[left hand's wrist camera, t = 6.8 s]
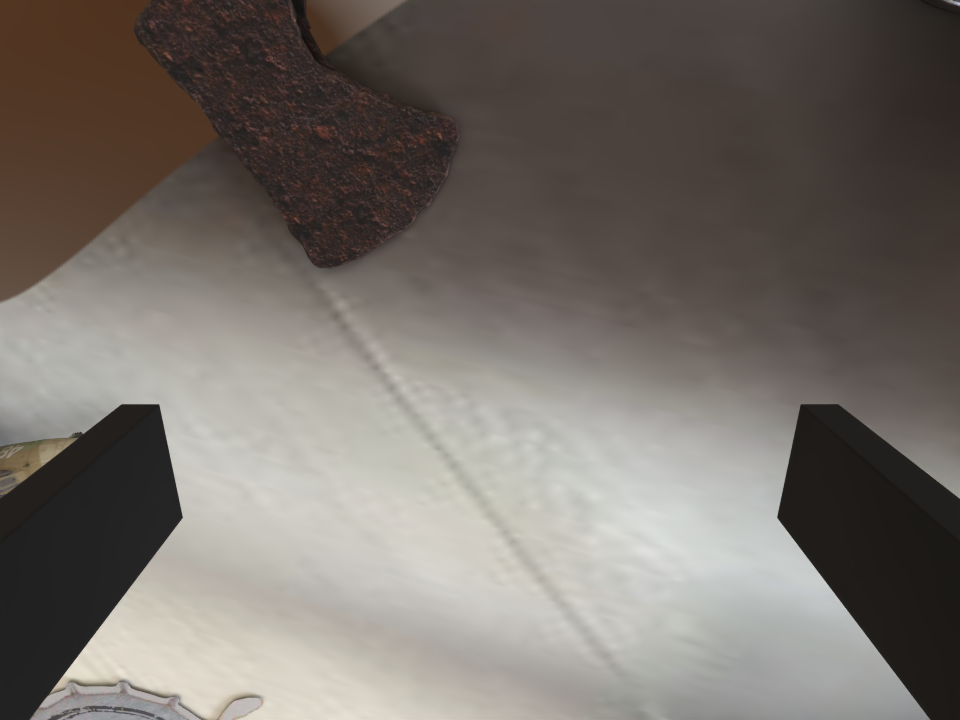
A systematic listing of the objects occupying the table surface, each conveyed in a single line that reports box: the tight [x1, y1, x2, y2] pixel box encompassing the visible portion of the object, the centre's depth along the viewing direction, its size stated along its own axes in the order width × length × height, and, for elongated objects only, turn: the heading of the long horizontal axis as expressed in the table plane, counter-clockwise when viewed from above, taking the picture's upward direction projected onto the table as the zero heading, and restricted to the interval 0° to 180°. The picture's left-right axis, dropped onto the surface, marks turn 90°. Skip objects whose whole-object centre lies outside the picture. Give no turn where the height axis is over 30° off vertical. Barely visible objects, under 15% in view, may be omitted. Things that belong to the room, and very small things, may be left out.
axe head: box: [134, 0, 459, 268], centre depth 38 cm, size 18×8×15 cm
